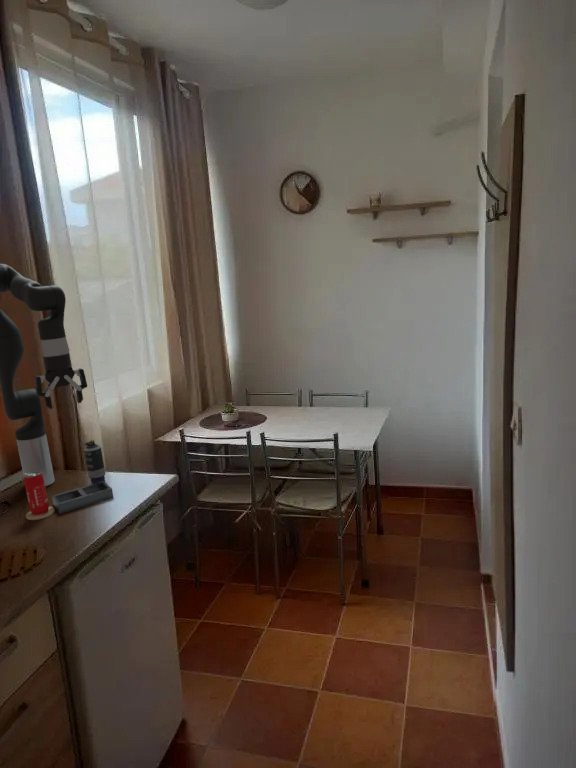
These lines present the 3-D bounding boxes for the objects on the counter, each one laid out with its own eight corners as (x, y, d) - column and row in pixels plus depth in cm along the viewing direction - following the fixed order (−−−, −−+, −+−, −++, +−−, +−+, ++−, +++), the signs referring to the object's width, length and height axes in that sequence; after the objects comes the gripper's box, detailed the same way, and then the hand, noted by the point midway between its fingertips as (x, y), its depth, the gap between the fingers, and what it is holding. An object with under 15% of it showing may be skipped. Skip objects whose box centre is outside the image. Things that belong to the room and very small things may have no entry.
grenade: (101, 486, 180) (94, 443, 177) (82, 486, 181) (75, 443, 178) (109, 479, 185) (102, 438, 182) (91, 480, 186) (84, 438, 183)
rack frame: (53, 504, 168) (51, 495, 167) (105, 489, 176) (103, 480, 176) (59, 513, 160) (58, 504, 160) (113, 497, 169) (112, 488, 168)
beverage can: (42, 515, 159) (35, 477, 156) (27, 515, 160) (19, 477, 157) (53, 508, 164) (45, 470, 161) (38, 508, 165) (30, 471, 162)
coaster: (24, 514, 163) (23, 512, 163) (52, 505, 167) (51, 504, 167) (28, 522, 156) (28, 520, 156) (57, 513, 161) (57, 512, 160)
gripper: (77, 348, 169) (85, 399, 173) (28, 356, 162) (38, 408, 165) (83, 350, 163) (92, 402, 167) (32, 358, 155) (43, 412, 159)
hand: (65, 405), depth 166 cm, fingers open, 8 cm apart
